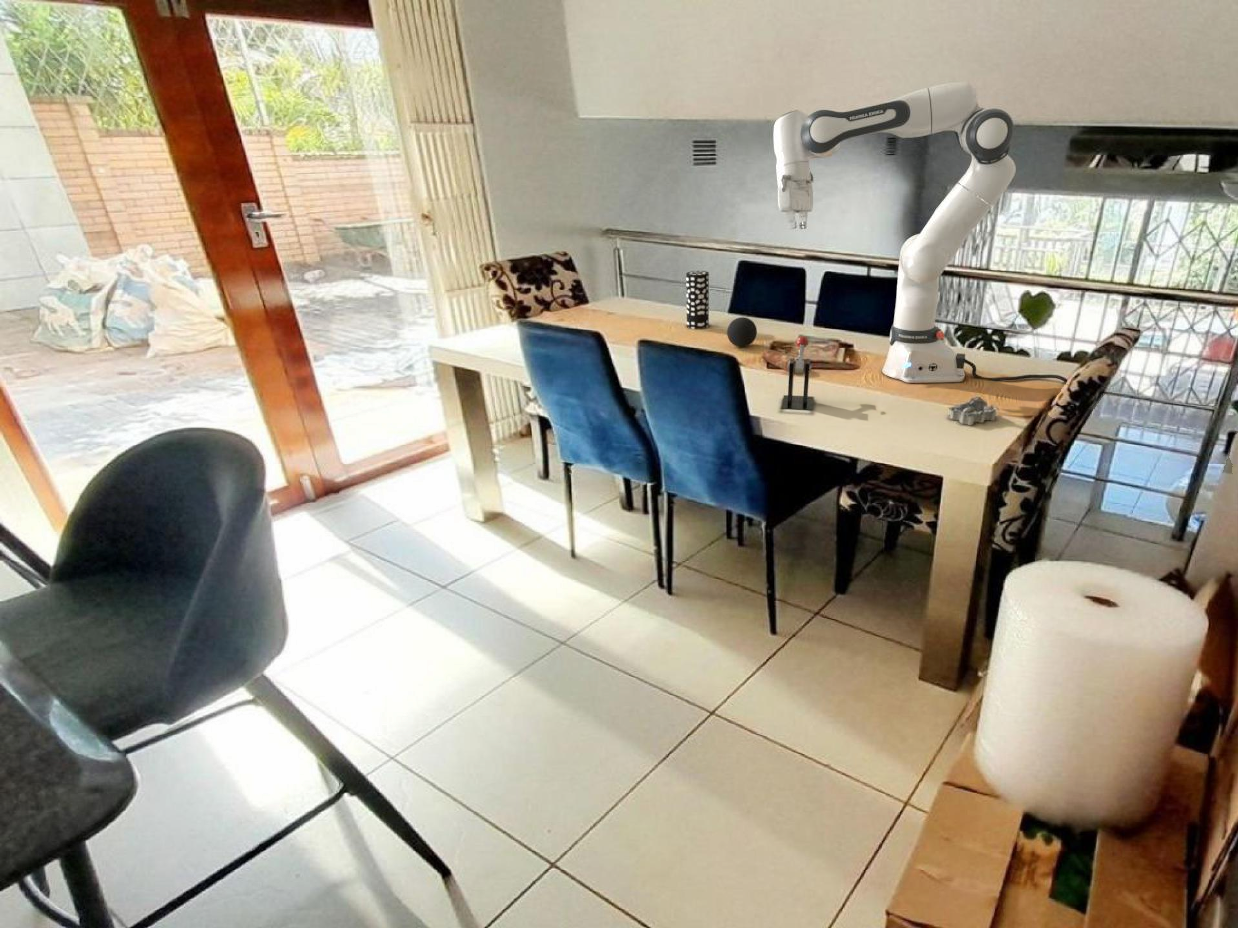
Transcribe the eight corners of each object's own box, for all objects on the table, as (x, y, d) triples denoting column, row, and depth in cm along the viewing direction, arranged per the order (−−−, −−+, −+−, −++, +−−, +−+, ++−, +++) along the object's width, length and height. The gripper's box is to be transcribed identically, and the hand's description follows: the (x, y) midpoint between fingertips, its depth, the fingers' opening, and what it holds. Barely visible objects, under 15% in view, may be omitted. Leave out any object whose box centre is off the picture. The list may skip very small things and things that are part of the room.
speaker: (751, 351, 236) (752, 322, 232) (723, 349, 241) (723, 320, 236) (759, 343, 244) (760, 315, 240) (732, 341, 248) (732, 313, 244)
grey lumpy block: (978, 410, 181) (981, 395, 179) (1000, 420, 175) (1003, 405, 173) (943, 416, 179) (946, 401, 177) (964, 426, 172) (967, 411, 170)
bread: (790, 378, 211) (791, 360, 208) (758, 361, 227) (759, 344, 225) (809, 374, 212) (810, 356, 210) (775, 358, 229) (776, 341, 226)
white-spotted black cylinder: (712, 324, 270) (712, 271, 262) (702, 329, 264) (702, 276, 255) (692, 322, 275) (692, 270, 266) (683, 327, 268) (682, 274, 260)
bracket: (783, 399, 195) (785, 354, 190) (813, 400, 193) (816, 355, 188) (780, 412, 187) (782, 366, 181) (811, 414, 185) (814, 367, 179)
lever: (796, 342, 194) (797, 333, 191) (808, 342, 193) (809, 334, 190) (792, 375, 186) (793, 366, 184) (805, 375, 185) (805, 367, 183)
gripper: (792, 171, 183) (797, 226, 186) (815, 176, 200) (819, 227, 203) (769, 176, 187) (775, 230, 190) (793, 181, 203) (798, 231, 206)
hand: (798, 228), depth 196 cm, fingers open, 8 cm apart
